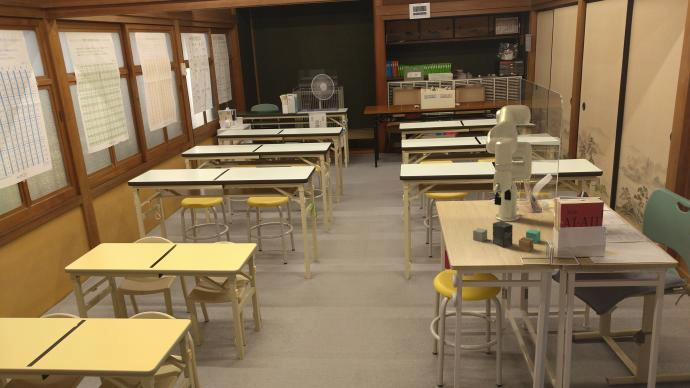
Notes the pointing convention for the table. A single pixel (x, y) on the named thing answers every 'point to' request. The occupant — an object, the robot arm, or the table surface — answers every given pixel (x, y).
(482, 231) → the slate cube
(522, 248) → the walnut cube
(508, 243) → the box
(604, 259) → the table surface
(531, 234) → the teal cube
